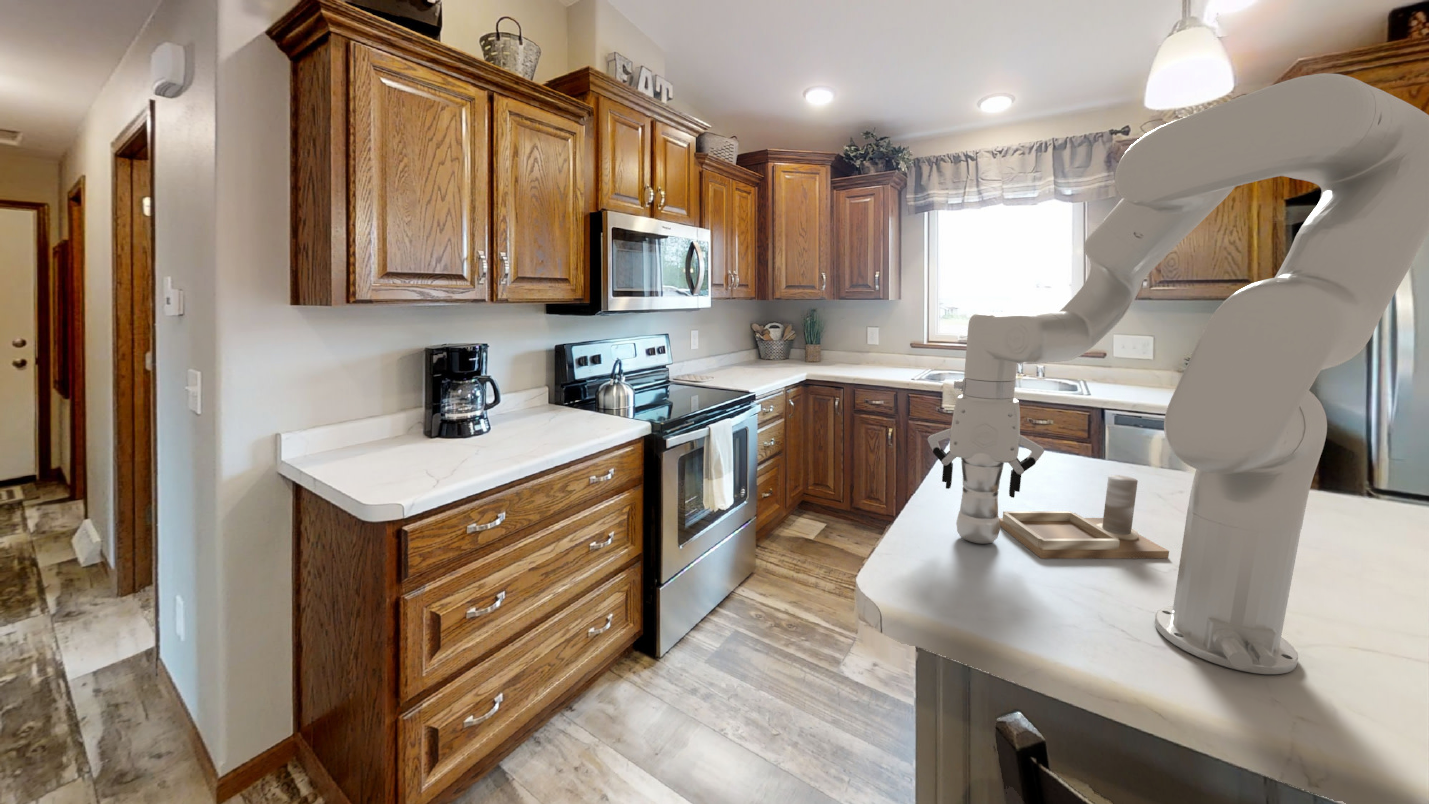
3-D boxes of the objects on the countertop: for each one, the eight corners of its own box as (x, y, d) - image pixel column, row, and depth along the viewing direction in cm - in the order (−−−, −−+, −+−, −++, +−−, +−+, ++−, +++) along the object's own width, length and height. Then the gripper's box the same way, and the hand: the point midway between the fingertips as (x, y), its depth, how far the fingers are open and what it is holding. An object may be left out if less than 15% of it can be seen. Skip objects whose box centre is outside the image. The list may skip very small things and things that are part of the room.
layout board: (1041, 558, 90) (1047, 492, 88) (997, 524, 103) (1002, 467, 101) (1168, 558, 89) (1177, 492, 88) (1107, 524, 103) (1114, 466, 101)
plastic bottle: (1003, 550, 93) (1014, 430, 89) (959, 546, 94) (968, 428, 91) (992, 534, 99) (1002, 422, 95) (951, 531, 100) (959, 420, 97)
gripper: (929, 389, 92) (922, 489, 96) (1051, 397, 85) (1040, 506, 88) (933, 383, 99) (927, 477, 102) (1048, 390, 92) (1037, 491, 95)
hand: (979, 490), depth 95 cm, fingers open, 9 cm apart
